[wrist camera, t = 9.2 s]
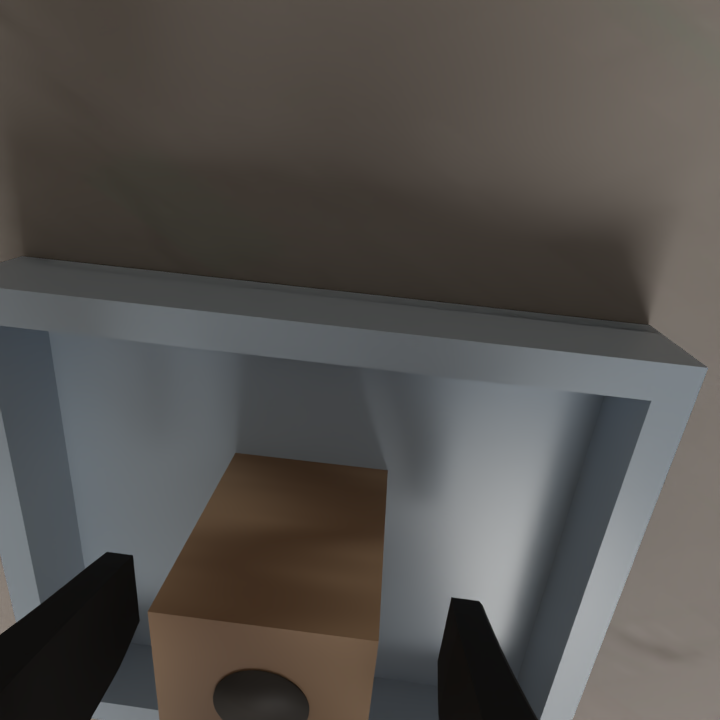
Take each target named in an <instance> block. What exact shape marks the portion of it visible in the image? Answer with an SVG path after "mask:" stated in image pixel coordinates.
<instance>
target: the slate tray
mask: <svg viewBox="0 0 720 720" xmlns="http://www.w3.org/2000/svg"><path fill="white" fill-rule="evenodd" d="M707 370H708V367H706V366H705V365H703V364H702V363H701V362H699V361H698V360H697V359H695V358H694V357H693V356H691V355H690V354H688V353H687V352H686V351H684V350H683V349H682V348H680V347H679V346H678V345H676V344H675V343H673V342H672V341H671V340H669V339H668V338H667V337H665V336H664V335H663V334H661V333H660V332H658V331H657V330H656V329H654V328H653V327H652V326H650V325H644V324H635V323H626V322H617V321H608V320H599V319H589V318H580V317H571V316H562V315H553V314H544V313H535V312H526V311H517V310H508V309H498V308H489V307H480V306H471V305H462V304H453V303H444V302H435V301H426V300H416V299H407V298H398V297H389V296H380V295H371V294H362V293H353V292H344V291H335V290H325V289H316V288H307V287H298V286H289V285H280V284H271V283H262V282H253V281H244V280H234V279H225V278H216V277H207V276H198V275H189V274H180V273H171V272H162V271H152V270H143V269H134V268H125V267H116V266H107V265H98V264H89V263H80V262H71V261H61V260H52V259H43V258H34V257H25V256H21V257H18V258H14V259H11V260H8V261H4V262H1V263H0V555H1V560H2V564H3V568H4V572H5V577H6V581H7V585H8V590H9V594H10V598H11V602H12V607H13V611H14V615H15V619H16V622H18V621H19V620H20V619H22V618H23V617H24V616H26V615H27V614H28V613H29V612H31V611H32V610H33V609H35V608H36V607H37V606H39V605H40V604H41V603H42V602H44V601H45V600H46V599H48V598H49V597H50V596H51V595H53V594H54V593H55V592H56V591H58V590H59V589H60V588H61V587H63V586H64V585H65V584H67V583H68V582H69V581H70V580H72V579H73V578H74V577H75V576H77V575H78V574H79V573H80V572H82V571H83V570H84V569H85V568H87V567H88V566H89V565H90V564H92V563H93V562H94V561H95V560H97V559H98V558H99V557H101V556H102V555H103V554H105V553H106V552H113V553H121V554H128V555H133V560H134V569H135V579H136V588H137V598H138V608H139V617H140V622H139V624H138V626H137V629H136V631H135V634H134V636H133V638H132V641H131V643H130V645H129V648H128V650H127V652H126V654H125V657H124V659H123V661H122V663H121V665H120V668H119V670H118V671H117V673H116V675H115V677H114V679H113V681H112V682H111V684H110V686H109V688H108V689H107V691H106V693H105V695H104V696H103V698H102V700H101V702H100V704H99V705H98V707H97V709H96V711H95V712H94V714H93V716H92V718H94V719H101V720H159V711H158V702H157V693H156V684H155V675H154V666H153V657H152V647H151V638H150V629H149V620H148V610H149V608H150V606H151V605H152V603H153V601H154V599H155V597H156V596H157V594H158V592H159V590H160V588H161V587H162V585H163V583H164V581H165V579H166V577H167V576H168V574H169V572H170V570H171V568H172V567H173V565H174V563H175V561H176V559H177V558H178V556H179V554H180V552H181V550H182V549H183V547H184V545H185V543H186V541H187V540H188V538H189V536H190V534H191V532H192V530H193V529H194V527H195V525H196V523H197V521H198V520H199V518H200V516H201V514H202V512H203V511H204V509H205V507H206V505H207V503H208V502H209V500H210V498H211V496H212V494H213V492H214V491H215V489H216V487H217V485H218V483H219V482H220V480H221V478H222V476H223V474H224V473H225V471H226V469H227V467H228V465H229V464H230V462H231V460H232V458H233V456H234V454H235V453H241V454H250V455H259V456H268V457H276V458H285V459H294V460H303V461H311V462H320V463H329V464H338V465H347V466H355V467H364V468H373V469H382V470H388V476H387V495H386V514H385V533H384V551H383V570H382V589H381V608H380V627H379V643H378V651H377V658H376V666H375V673H374V681H373V688H372V696H371V703H370V711H369V719H368V720H439V716H438V667H437V661H438V657H439V652H440V647H441V643H442V638H443V633H444V629H445V624H446V619H447V615H448V610H449V605H450V601H451V597H453V598H461V599H469V600H476V601H480V603H481V604H482V605H483V607H484V610H485V612H486V615H487V617H488V619H489V622H490V624H491V626H492V629H493V631H494V633H495V635H496V638H497V640H498V642H499V644H500V646H501V649H502V651H503V653H504V655H505V657H506V659H507V661H508V663H509V665H510V667H511V669H512V671H513V673H514V675H515V677H516V679H517V681H518V683H519V685H520V687H521V689H522V691H523V693H524V694H525V696H526V698H527V700H528V702H529V704H530V706H531V708H532V710H533V711H534V713H535V715H536V717H537V719H538V720H572V719H573V717H574V714H575V711H576V709H577V706H578V704H579V701H580V698H581V696H582V693H583V691H584V688H585V686H586V683H587V680H588V678H589V675H590V673H591V670H592V667H593V665H594V662H595V660H596V657H597V654H598V652H599V649H600V647H601V644H602V642H603V639H604V636H605V634H606V631H607V629H608V626H609V623H610V621H611V618H612V616H613V613H614V610H615V608H616V605H617V603H618V600H619V598H620V595H621V592H622V590H623V587H624V585H625V582H626V579H627V577H628V574H629V572H630V569H631V566H632V564H633V561H634V559H635V556H636V554H637V551H638V548H639V546H640V543H641V541H642V538H643V535H644V533H645V530H646V528H647V525H648V522H649V520H650V517H651V515H652V512H653V510H654V507H655V504H656V502H657V499H658V497H659V494H660V491H661V489H662V486H663V484H664V481H665V478H666V476H667V473H668V471H669V468H670V466H671V463H672V460H673V458H674V455H675V453H676V450H677V447H678V445H679V442H680V440H681V437H682V434H683V432H684V429H685V427H686V424H687V421H688V419H689V416H690V414H691V411H692V409H693V406H694V403H695V401H696V398H697V396H698V393H699V390H700V388H701V385H702V383H703V380H704V377H705V375H706V372H707Z"/></svg>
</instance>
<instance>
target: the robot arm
mask: <svg viewBox="0 0 720 720" xmlns="http://www.w3.org/2000/svg"><path fill="white" fill-rule="evenodd" d="M139 622H140V617H139V608H138V598H137V588H136V579H135V569H134V560H133V555H128V554H121V553H113V552H106V553H105V554H103V555H102V556H101V557H99V558H98V559H97V560H95V561H94V562H93V563H92V564H90V565H89V566H88V567H87V568H85V569H84V570H83V571H82V572H80V573H79V574H78V575H77V576H75V577H74V578H73V579H72V580H70V581H69V582H68V583H67V584H65V585H64V586H63V587H61V588H60V589H59V590H58V591H56V592H55V593H54V594H53V595H51V596H50V597H49V598H48V599H46V600H45V601H44V602H42V603H41V604H40V605H39V606H37V607H36V608H35V609H33V610H32V611H31V612H29V613H28V614H27V615H26V616H24V617H23V618H22V619H20V620H19V621H18V622H16V623H15V624H14V625H13V626H11V627H10V628H9V629H7V630H6V631H5V632H3V633H2V634H0V720H90V719H91V718H92V716H93V714H94V712H95V711H96V709H97V707H98V705H99V704H100V702H101V700H102V698H103V696H104V695H105V693H106V691H107V689H108V688H109V686H110V684H111V682H112V681H113V679H114V677H115V675H116V673H117V671H118V670H119V668H120V665H121V663H122V661H123V659H124V657H125V654H126V652H127V650H128V648H129V645H130V643H131V641H132V638H133V636H134V634H135V631H136V629H137V626H138V624H139ZM437 667H438V716H439V720H538V719H537V717H536V715H535V713H534V711H533V710H532V708H531V706H530V704H529V702H528V700H527V698H526V696H525V694H524V693H523V691H522V689H521V687H520V685H519V683H518V681H517V679H516V677H515V675H514V673H513V671H512V669H511V667H510V665H509V663H508V661H507V659H506V657H505V655H504V653H503V651H502V649H501V646H500V644H499V642H498V640H497V638H496V635H495V633H494V631H493V629H492V626H491V624H490V622H489V619H488V617H487V615H486V612H485V610H484V607H483V605H482V604H481V603H480V601H476V600H469V599H461V598H453V597H451V601H450V605H449V610H448V615H447V619H446V624H445V629H444V633H443V638H442V643H441V647H440V652H439V657H438V661H437Z"/></svg>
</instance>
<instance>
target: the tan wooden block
mask: <svg viewBox="0 0 720 720" xmlns="http://www.w3.org/2000/svg"><path fill="white" fill-rule="evenodd" d="M387 476H388V470H382V469H373V468H364V467H355V466H347V465H338V464H329V463H320V462H311V461H303V460H294V459H285V458H276V457H268V456H259V455H250V454H241V453H235V454H234V456H233V458H232V460H231V462H230V464H229V465H228V467H227V469H226V471H225V473H224V474H223V476H222V478H221V480H220V482H219V483H218V485H217V487H216V489H215V491H214V492H213V494H212V496H211V498H210V500H209V502H208V503H207V505H206V507H205V509H204V511H203V512H202V514H201V516H200V518H199V520H198V521H197V523H196V525H195V527H194V529H193V530H192V532H191V534H190V536H189V538H188V540H187V541H186V543H185V545H184V547H183V549H182V550H181V552H180V554H179V556H178V558H177V559H176V561H175V563H174V565H173V567H172V568H171V570H170V572H169V574H168V576H167V577H166V579H165V581H164V583H163V585H162V587H161V588H160V590H159V592H158V594H157V596H156V597H155V599H154V601H153V603H152V605H151V606H150V608H149V610H148V620H149V629H150V638H151V647H152V657H153V666H154V675H155V684H156V693H157V702H158V711H159V720H368V719H369V711H370V703H371V696H372V688H373V681H374V673H375V666H376V658H377V651H378V643H379V627H380V608H381V589H382V570H383V551H384V533H385V514H386V495H387Z"/></svg>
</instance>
